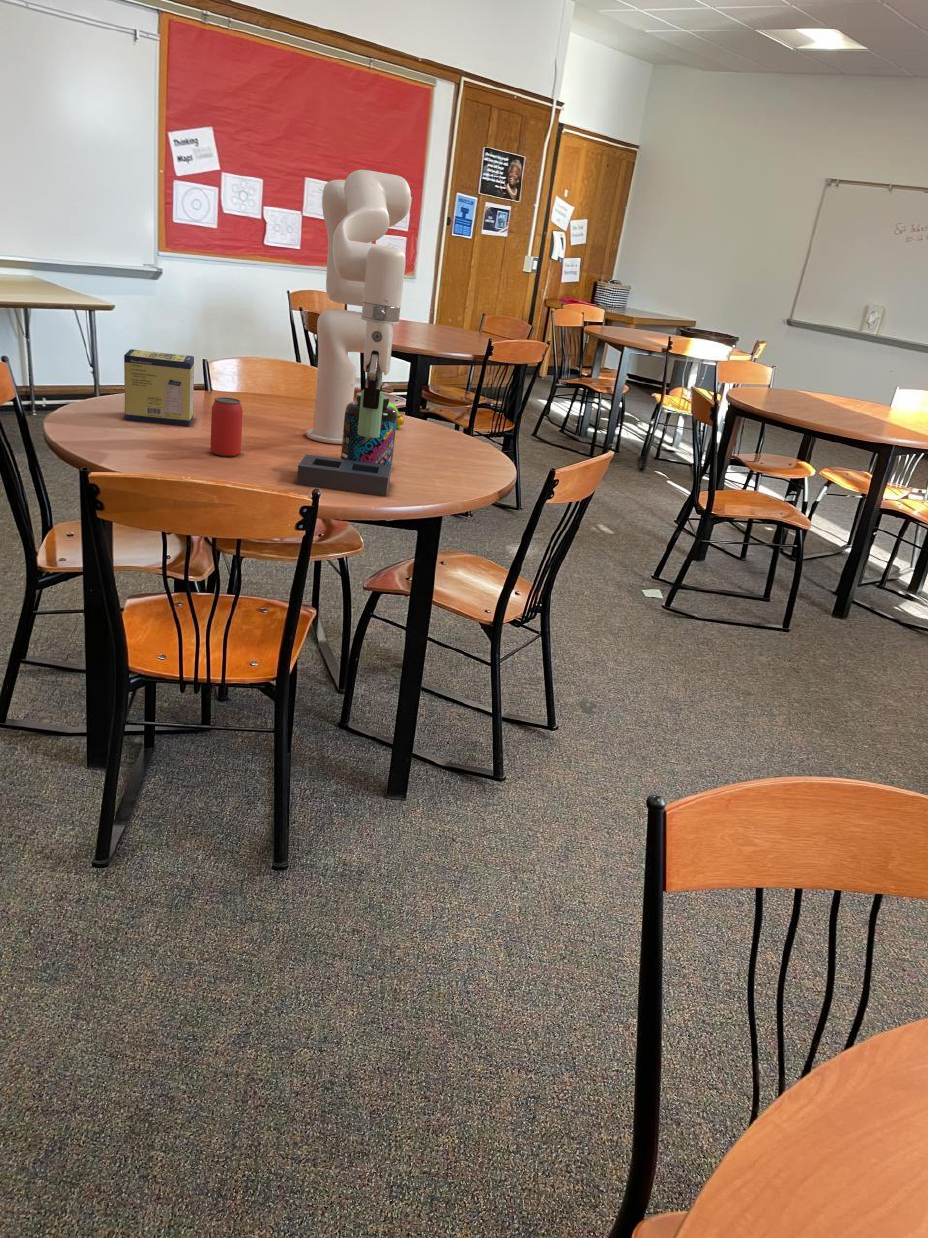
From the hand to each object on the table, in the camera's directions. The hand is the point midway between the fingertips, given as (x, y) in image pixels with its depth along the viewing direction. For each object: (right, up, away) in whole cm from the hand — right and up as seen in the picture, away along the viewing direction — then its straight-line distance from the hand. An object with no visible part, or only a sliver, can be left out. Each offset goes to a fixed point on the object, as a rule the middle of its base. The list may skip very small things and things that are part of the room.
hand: (371, 404), depth 185 cm
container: (-4, -8, +24) cm, 26 cm away
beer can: (-34, -7, +16) cm, 39 cm away
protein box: (-57, +5, +37) cm, 68 cm away
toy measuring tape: (-7, +12, +71) cm, 72 cm away
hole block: (-7, -15, +7) cm, 18 cm away
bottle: (-1, -6, +2) cm, 6 cm away
